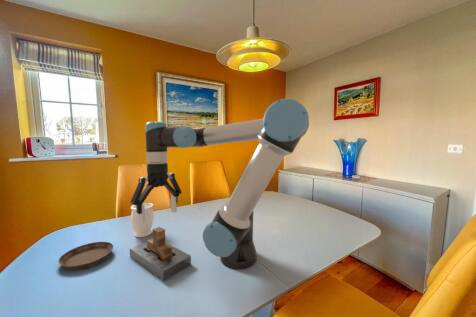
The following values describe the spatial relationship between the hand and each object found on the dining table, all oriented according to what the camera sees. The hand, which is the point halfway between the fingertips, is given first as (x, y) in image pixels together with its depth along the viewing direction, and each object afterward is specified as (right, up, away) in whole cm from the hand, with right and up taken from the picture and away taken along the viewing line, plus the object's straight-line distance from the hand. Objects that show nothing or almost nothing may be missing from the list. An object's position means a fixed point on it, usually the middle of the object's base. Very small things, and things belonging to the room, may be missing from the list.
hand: (159, 216), depth 79 cm
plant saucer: (-30, -18, +2) cm, 35 cm away
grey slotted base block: (-1, -18, +2) cm, 18 cm away
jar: (-18, -16, +25) cm, 35 cm away
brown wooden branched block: (-1, -18, +2) cm, 18 cm away
